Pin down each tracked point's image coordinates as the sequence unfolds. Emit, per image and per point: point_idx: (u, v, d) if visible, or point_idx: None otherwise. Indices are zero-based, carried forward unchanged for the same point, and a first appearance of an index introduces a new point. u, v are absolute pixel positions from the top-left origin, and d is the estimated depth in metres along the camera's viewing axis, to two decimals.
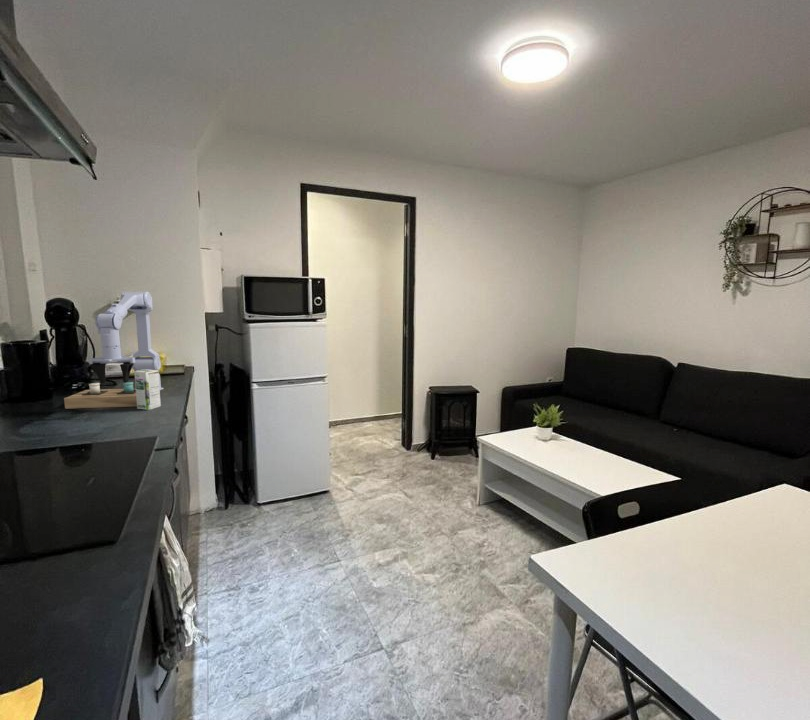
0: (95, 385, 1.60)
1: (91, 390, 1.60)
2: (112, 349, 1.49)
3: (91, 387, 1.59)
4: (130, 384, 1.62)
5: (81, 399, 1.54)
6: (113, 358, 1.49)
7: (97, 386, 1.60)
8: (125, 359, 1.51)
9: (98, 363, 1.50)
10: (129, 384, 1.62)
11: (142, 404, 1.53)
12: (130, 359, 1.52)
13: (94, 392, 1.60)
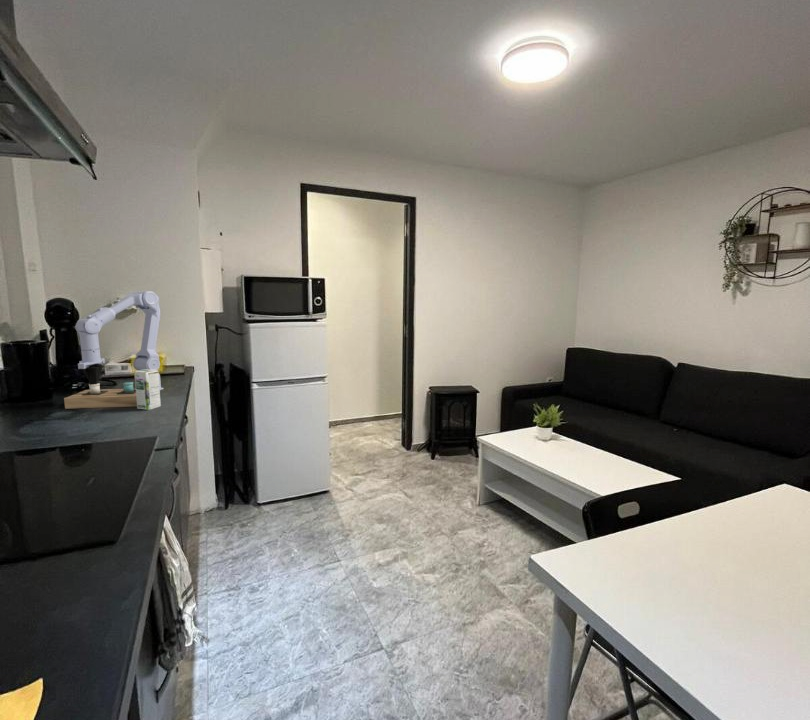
0: (95, 385, 1.60)
1: (91, 390, 1.60)
2: (81, 352, 1.57)
3: (91, 387, 1.59)
4: (130, 384, 1.62)
5: (81, 399, 1.54)
6: (82, 361, 1.57)
7: (97, 386, 1.60)
8: None
9: None
10: (129, 384, 1.62)
11: (142, 404, 1.53)
12: None
13: (94, 392, 1.60)
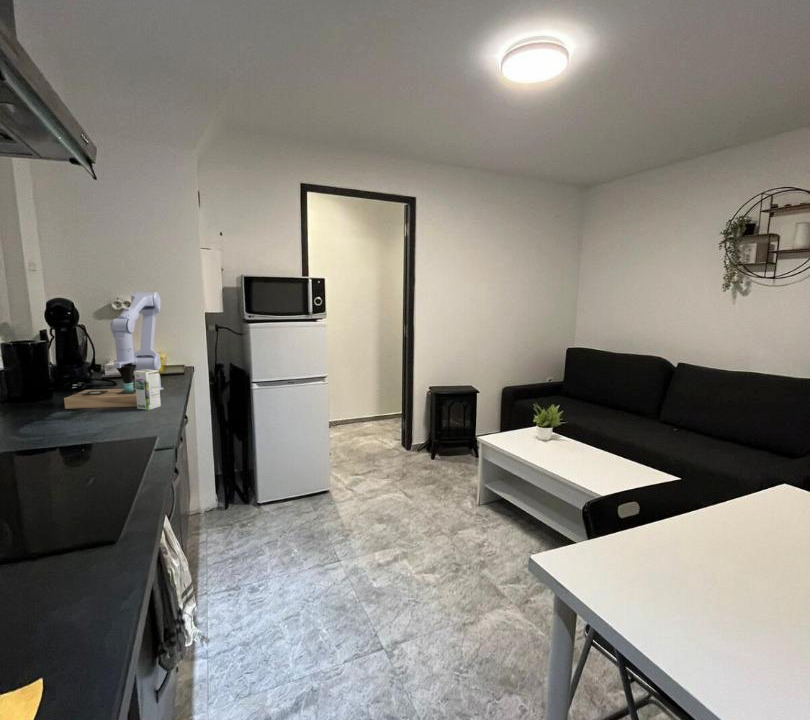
0: None
1: None
2: (116, 352, 1.59)
3: None
4: (130, 384, 1.62)
5: (81, 399, 1.54)
6: (116, 360, 1.60)
7: None
8: (115, 363, 1.56)
9: None
10: (129, 384, 1.62)
11: (142, 404, 1.53)
12: None
13: None
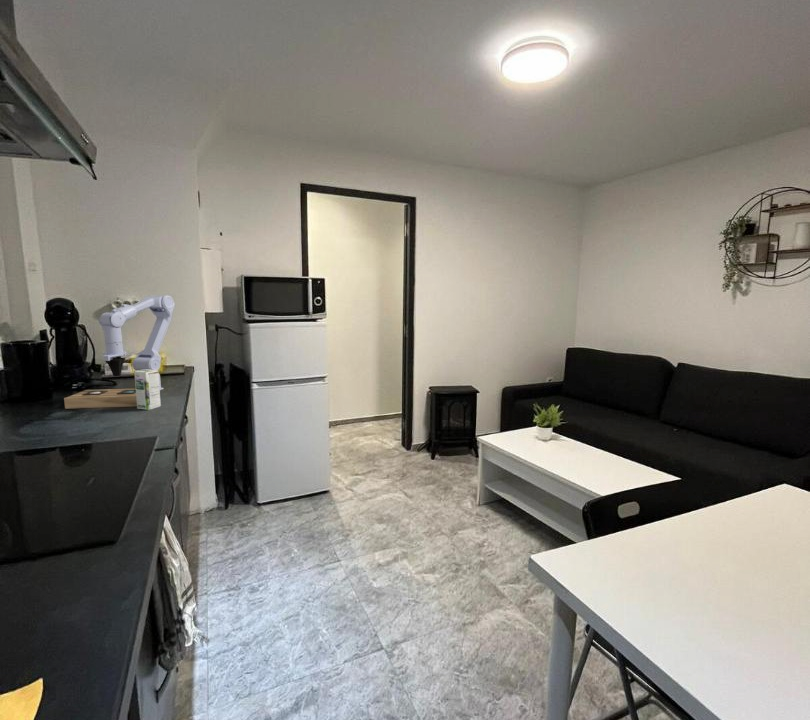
0: None
1: None
2: (105, 345, 1.63)
3: None
4: None
5: (81, 399, 1.54)
6: (105, 353, 1.63)
7: None
8: (104, 356, 1.60)
9: None
10: None
11: (142, 404, 1.53)
12: None
13: None
